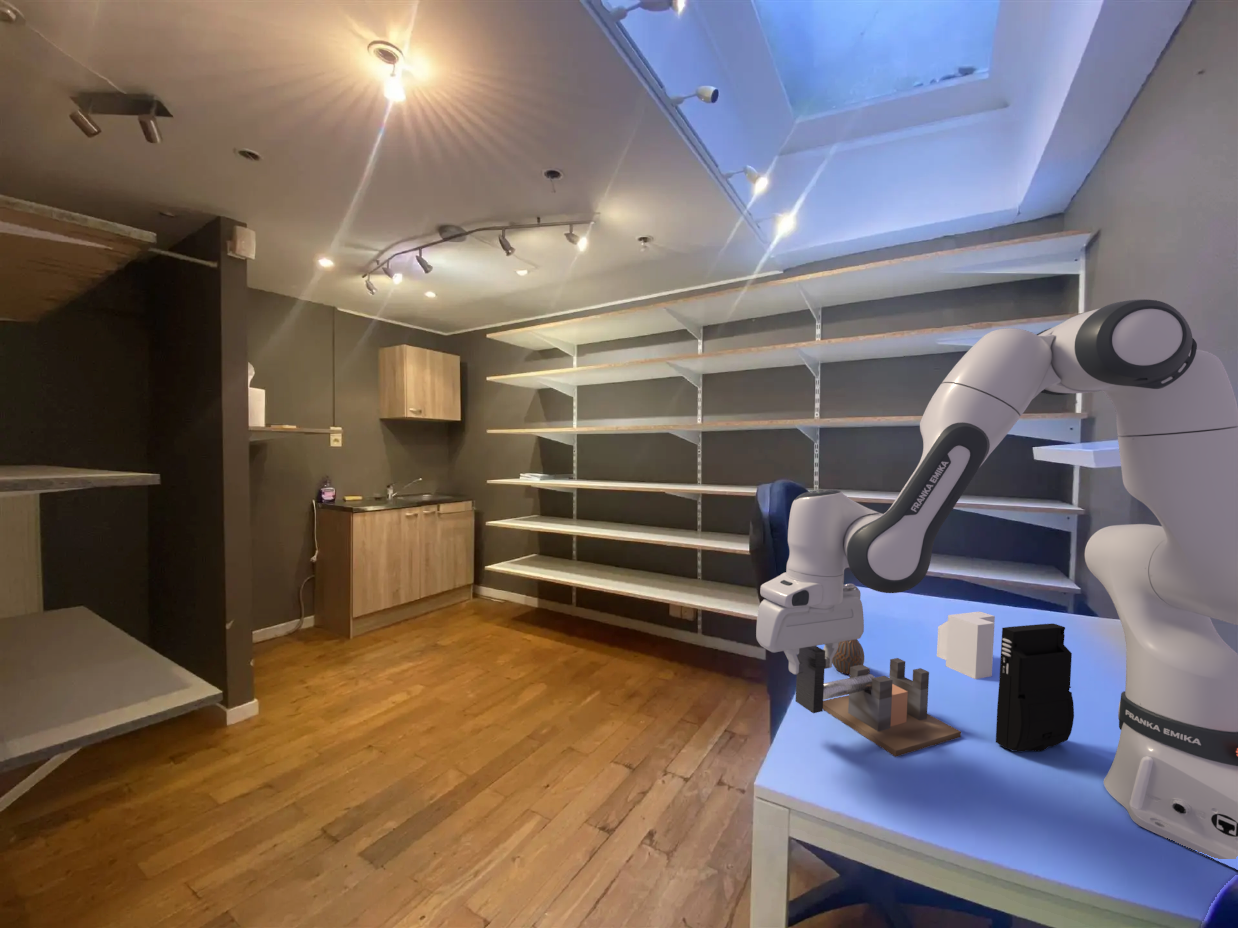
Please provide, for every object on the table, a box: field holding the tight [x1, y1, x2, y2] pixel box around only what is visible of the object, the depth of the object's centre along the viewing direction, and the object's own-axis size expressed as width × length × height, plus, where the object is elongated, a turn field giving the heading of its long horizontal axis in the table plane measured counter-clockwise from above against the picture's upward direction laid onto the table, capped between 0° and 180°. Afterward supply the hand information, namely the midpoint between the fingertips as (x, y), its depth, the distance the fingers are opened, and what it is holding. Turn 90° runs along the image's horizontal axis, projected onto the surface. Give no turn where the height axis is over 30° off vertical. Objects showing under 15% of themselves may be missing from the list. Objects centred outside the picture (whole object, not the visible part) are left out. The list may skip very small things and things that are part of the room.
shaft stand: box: [823, 657, 962, 758], centre depth 87 cm, size 16×16×10 cm
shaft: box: [795, 645, 875, 714], centre depth 83 cm, size 4×15×10 cm, turn 112°
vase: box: [832, 639, 865, 676], centre depth 108 cm, size 7×7×9 cm
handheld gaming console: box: [995, 623, 1075, 753], centre depth 81 cm, size 12×5×20 cm, turn 105°
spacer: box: [890, 684, 908, 726], centre depth 87 cm, size 5×4×6 cm
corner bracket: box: [936, 611, 996, 680], centre depth 113 cm, size 11×11×12 cm
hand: (810, 669), depth 80 cm, fingers open, 5 cm apart
